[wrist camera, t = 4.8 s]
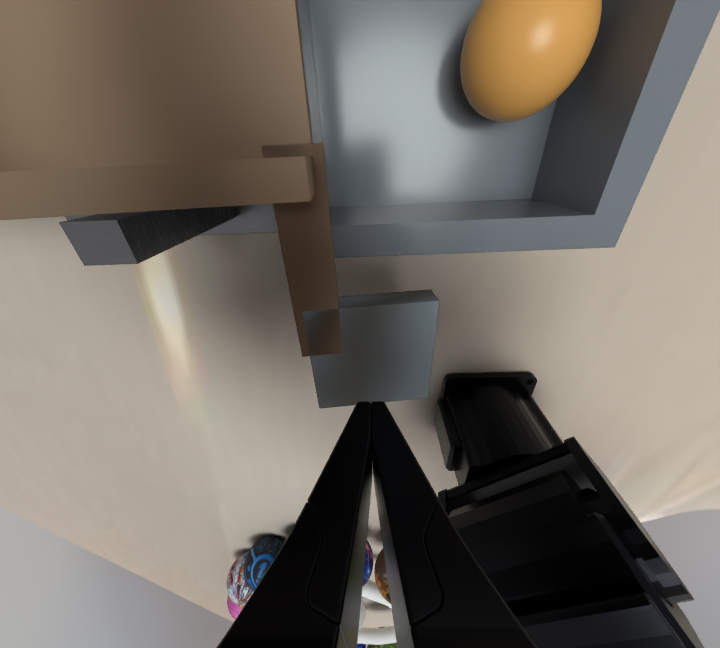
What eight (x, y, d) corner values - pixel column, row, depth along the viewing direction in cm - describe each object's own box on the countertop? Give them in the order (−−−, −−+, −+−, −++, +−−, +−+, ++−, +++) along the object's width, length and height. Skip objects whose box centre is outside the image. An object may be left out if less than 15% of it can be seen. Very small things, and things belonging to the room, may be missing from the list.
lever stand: (248, -165, 9) (-170, -1301, 2) (305, 226, 15) (253, 285, 8) (-102, -129, 9) (-1420, -928, 2) (94, 235, 16) (-119, 298, 9)
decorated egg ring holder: (232, 469, 36) (186, 548, 29) (501, 511, 33) (532, 612, 26) (262, 585, 53) (239, 655, 45) (445, 620, 50) (454, 702, 42)
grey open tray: (669, -220, 8) (1003, -635, 4) (542, 220, 15) (614, 247, 10) (256, -177, 9) (148, -501, 4) (311, 230, 15) (288, 259, 11)
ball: (629, -126, 6) (449, -43, 8) (564, 110, 8) (435, 125, 10) (628, -43, 8) (492, 2, 11) (579, 118, 11) (474, 128, 13)
